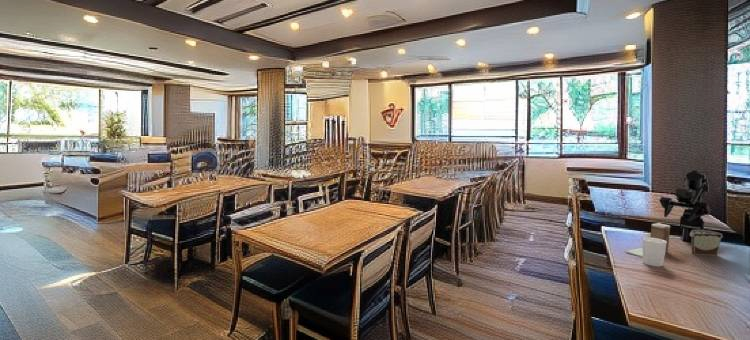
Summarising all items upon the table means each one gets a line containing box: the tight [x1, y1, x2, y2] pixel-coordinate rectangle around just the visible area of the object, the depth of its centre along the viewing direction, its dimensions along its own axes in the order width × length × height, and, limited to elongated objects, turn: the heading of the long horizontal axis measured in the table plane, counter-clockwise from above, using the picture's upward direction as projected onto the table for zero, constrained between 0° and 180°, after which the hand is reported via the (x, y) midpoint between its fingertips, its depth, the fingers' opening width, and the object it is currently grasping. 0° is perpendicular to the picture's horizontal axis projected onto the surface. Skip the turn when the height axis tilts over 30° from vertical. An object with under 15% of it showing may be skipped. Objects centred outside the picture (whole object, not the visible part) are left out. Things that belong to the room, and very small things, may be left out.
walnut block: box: [650, 222, 671, 253], centre depth 173 cm, size 5×5×12 cm
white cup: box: [642, 236, 667, 267], centre depth 155 cm, size 8×8×10 cm
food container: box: [690, 229, 724, 256], centre depth 170 cm, size 12×6×10 cm, turn 84°
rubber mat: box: [625, 247, 667, 258], centre depth 169 cm, size 14×9×1 cm, turn 115°
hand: (676, 218), depth 176 cm, fingers open, 9 cm apart
